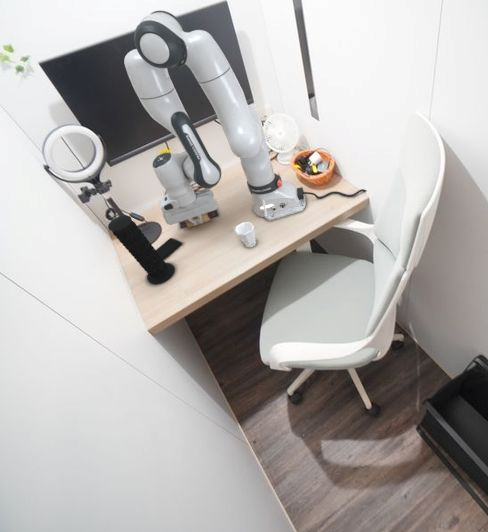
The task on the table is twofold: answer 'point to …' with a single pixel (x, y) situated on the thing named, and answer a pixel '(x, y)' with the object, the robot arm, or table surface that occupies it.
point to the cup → (246, 233)
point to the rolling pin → (204, 218)
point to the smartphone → (168, 248)
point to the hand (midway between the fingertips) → (198, 223)
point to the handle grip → (141, 249)
